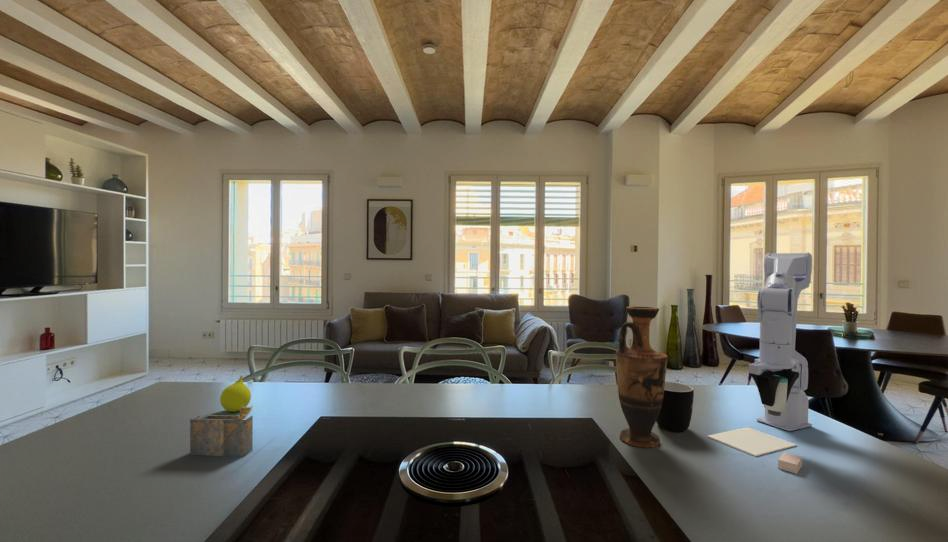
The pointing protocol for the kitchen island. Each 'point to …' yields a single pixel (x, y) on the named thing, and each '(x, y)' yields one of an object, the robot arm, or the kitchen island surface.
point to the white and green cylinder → (779, 398)
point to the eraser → (790, 462)
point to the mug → (676, 407)
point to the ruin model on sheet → (222, 434)
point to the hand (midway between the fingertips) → (774, 403)
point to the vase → (640, 379)
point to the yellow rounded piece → (235, 396)
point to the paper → (751, 441)
